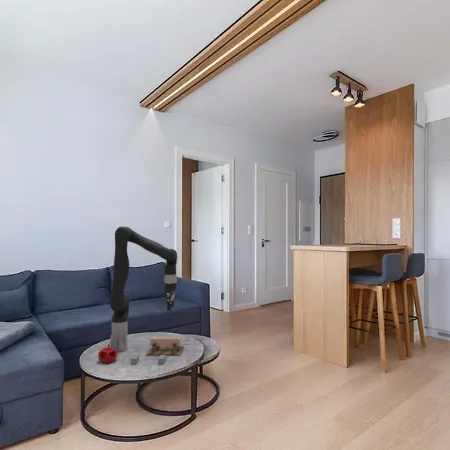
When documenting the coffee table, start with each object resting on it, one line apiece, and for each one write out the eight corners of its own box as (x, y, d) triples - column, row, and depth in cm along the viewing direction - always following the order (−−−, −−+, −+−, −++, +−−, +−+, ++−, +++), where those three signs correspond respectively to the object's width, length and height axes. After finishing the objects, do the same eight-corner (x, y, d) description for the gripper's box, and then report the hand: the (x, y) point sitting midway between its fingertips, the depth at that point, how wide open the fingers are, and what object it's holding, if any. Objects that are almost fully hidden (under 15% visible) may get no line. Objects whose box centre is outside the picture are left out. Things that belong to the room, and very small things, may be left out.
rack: (145, 355, 196) (146, 345, 197) (151, 347, 210) (151, 337, 211) (180, 355, 196) (180, 345, 196) (183, 347, 210) (183, 338, 210)
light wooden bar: (150, 345, 202) (150, 339, 202) (151, 343, 205) (151, 337, 205) (180, 345, 201) (180, 339, 201) (181, 343, 205) (181, 337, 205)
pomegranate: (99, 359, 192) (99, 342, 192) (117, 357, 194) (117, 341, 194) (97, 365, 182) (97, 348, 182) (116, 363, 184) (116, 346, 185)
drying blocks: (130, 364, 184) (130, 358, 184) (133, 360, 190) (133, 354, 190) (163, 364, 183) (163, 359, 183) (165, 360, 189) (165, 355, 189)
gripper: (166, 280, 213) (166, 306, 213) (161, 283, 199) (161, 311, 198) (178, 280, 213) (178, 306, 212) (174, 283, 198) (174, 311, 198)
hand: (170, 308), depth 205 cm, fingers open, 8 cm apart
